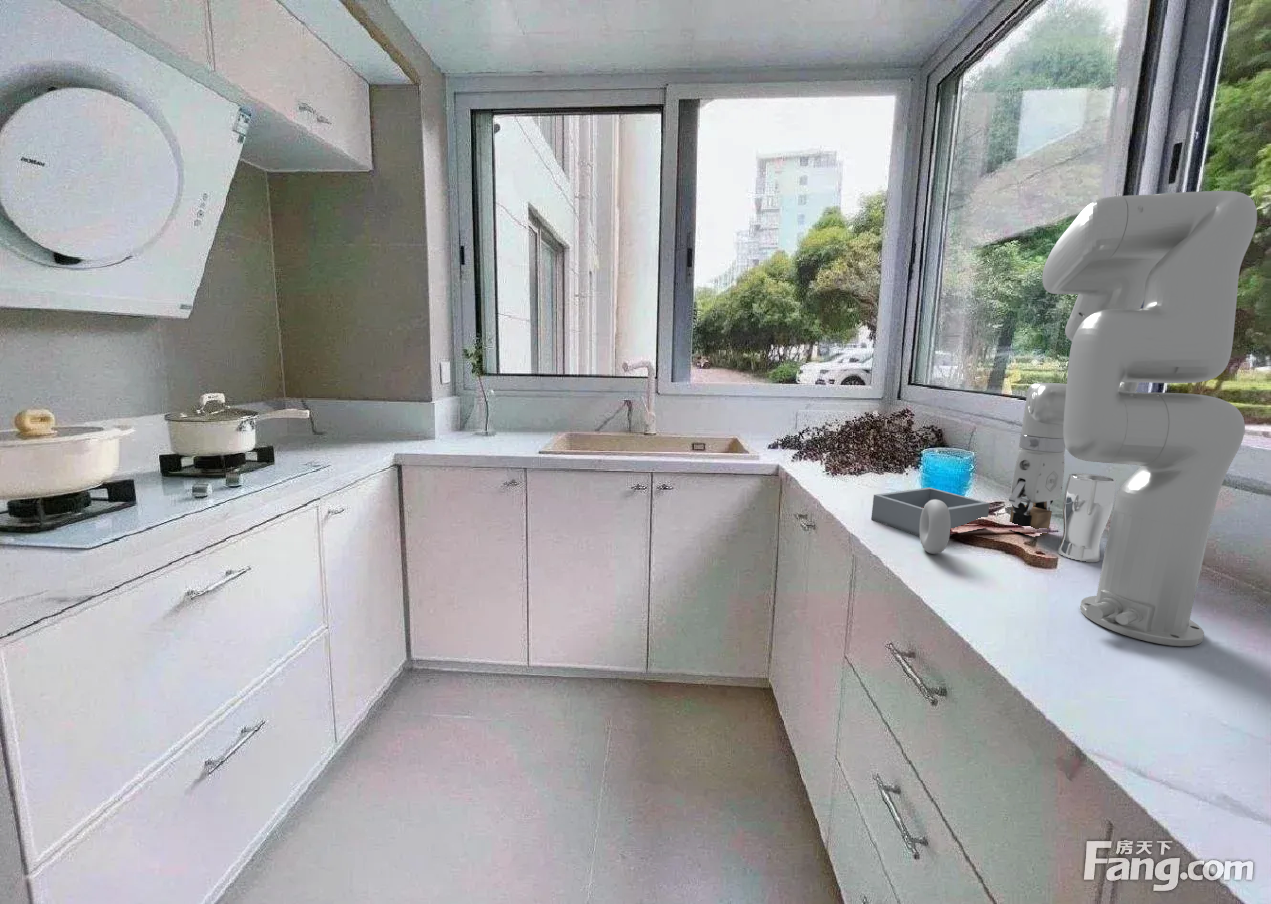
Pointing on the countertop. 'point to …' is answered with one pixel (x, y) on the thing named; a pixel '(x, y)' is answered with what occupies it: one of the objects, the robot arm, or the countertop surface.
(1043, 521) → the walnut cube
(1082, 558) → the beer glass
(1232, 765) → the countertop surface
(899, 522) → the tray
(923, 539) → the donut
